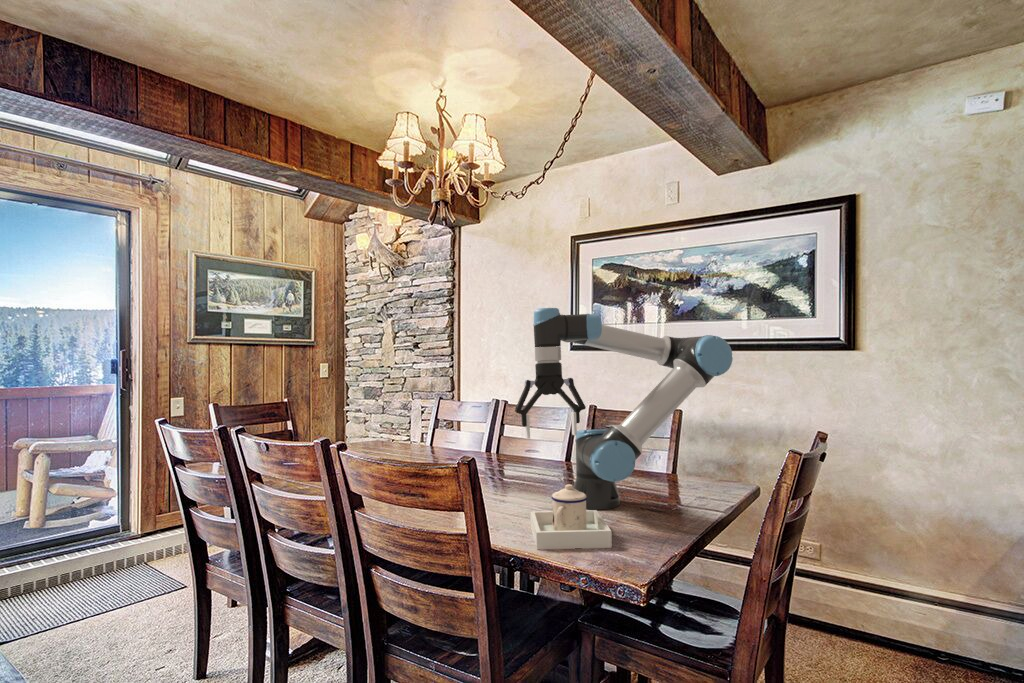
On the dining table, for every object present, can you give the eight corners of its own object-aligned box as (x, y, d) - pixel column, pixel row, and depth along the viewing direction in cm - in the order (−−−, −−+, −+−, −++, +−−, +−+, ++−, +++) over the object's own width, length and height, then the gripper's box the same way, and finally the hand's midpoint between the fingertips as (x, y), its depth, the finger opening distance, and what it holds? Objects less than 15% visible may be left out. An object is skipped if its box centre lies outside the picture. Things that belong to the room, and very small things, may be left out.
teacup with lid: (560, 523, 147) (559, 479, 147) (592, 528, 143) (591, 483, 143) (541, 536, 136) (540, 489, 137) (575, 541, 132) (574, 493, 132)
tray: (596, 524, 149) (596, 510, 149) (611, 547, 131) (611, 530, 131) (530, 526, 148) (530, 511, 148) (536, 549, 130) (536, 532, 130)
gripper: (586, 360, 162) (589, 431, 162) (503, 363, 158) (506, 437, 158) (594, 360, 155) (597, 435, 154) (507, 364, 151) (510, 441, 150)
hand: (551, 436), depth 156 cm, fingers open, 13 cm apart
